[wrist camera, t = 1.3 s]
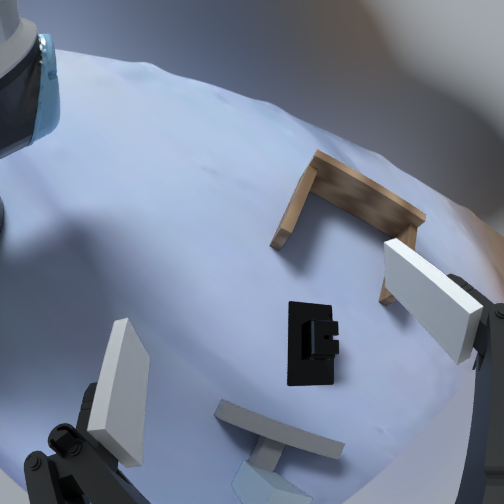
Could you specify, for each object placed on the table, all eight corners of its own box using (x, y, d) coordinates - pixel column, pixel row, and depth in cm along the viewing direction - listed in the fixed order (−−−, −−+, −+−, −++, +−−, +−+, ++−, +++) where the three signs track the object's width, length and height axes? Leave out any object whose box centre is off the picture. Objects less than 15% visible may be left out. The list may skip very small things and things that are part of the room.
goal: (269, 245, 42) (286, 219, 36) (300, 178, 48) (317, 149, 42) (386, 305, 43) (416, 290, 37) (400, 235, 49) (425, 214, 43)
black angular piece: (336, 394, 37) (356, 394, 32) (277, 396, 35) (292, 396, 31) (334, 296, 42) (352, 284, 38) (279, 291, 41) (293, 278, 36)
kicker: (187, 469, 29) (194, 504, 18) (221, 399, 33) (242, 404, 22) (298, 504, 29) (345, 538, 19) (327, 439, 33) (384, 451, 23)
